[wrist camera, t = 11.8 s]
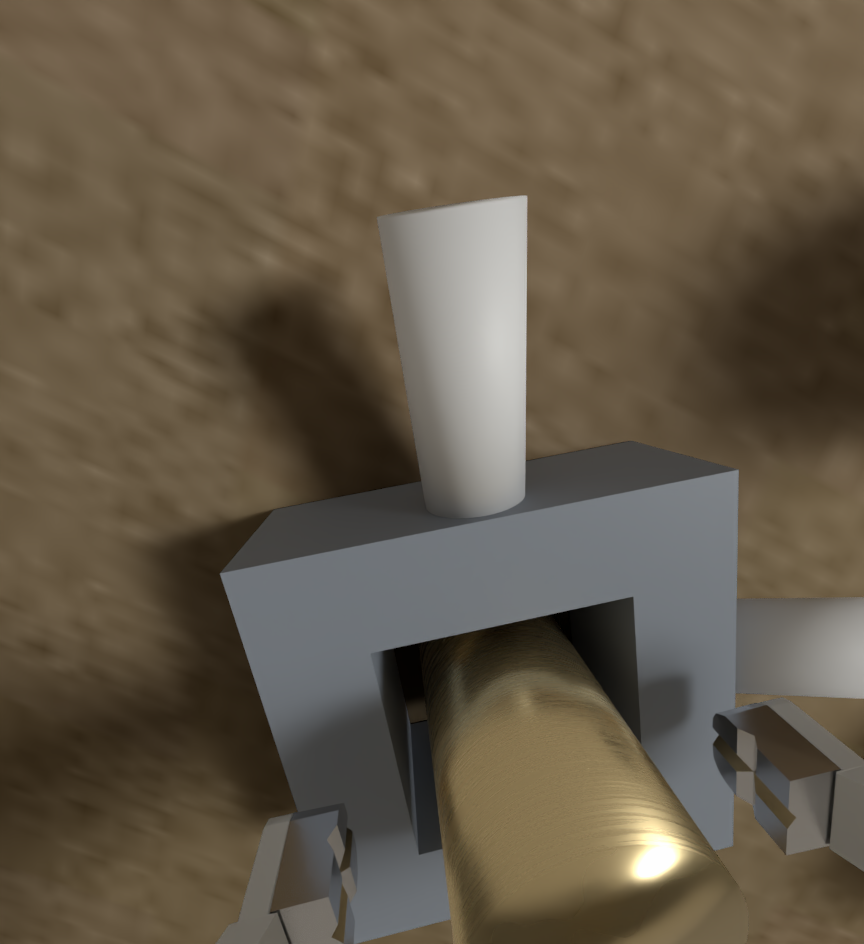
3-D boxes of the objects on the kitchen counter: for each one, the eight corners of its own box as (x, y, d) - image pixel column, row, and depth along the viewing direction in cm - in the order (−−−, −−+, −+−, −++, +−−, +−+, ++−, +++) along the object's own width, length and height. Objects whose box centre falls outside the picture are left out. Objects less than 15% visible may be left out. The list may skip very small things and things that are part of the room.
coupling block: (795, 691, 16) (1013, 860, 10) (354, 796, 15) (334, 1046, 9) (824, 193, 12) (1214, 31, 6) (212, 290, 11) (23, 198, 5)
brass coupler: (553, 672, 14) (746, 1018, 7) (429, 700, 14) (482, 1094, 6) (540, 558, 13) (751, 812, 6) (406, 586, 13) (435, 895, 5)
